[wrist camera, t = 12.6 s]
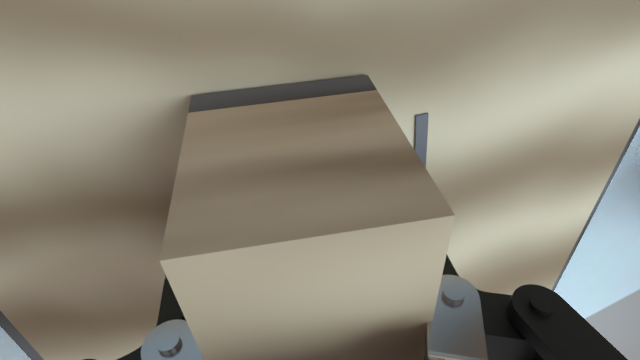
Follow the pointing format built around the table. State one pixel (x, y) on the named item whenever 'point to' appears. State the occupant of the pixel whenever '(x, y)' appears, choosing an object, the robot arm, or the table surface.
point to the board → (280, 69)
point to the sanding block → (304, 226)
